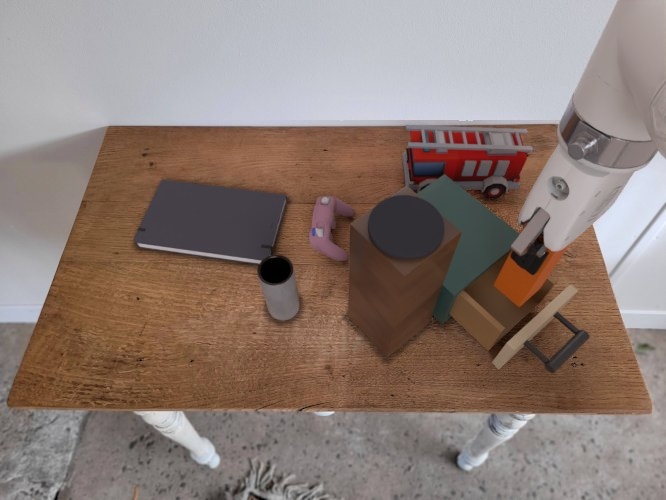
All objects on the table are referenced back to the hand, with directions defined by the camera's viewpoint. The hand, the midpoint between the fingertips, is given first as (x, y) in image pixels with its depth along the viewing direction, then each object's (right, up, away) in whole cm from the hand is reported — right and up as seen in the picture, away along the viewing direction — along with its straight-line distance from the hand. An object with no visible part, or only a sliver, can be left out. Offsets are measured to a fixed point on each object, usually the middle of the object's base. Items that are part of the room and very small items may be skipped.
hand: (537, 252), depth 53 cm
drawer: (+1, -9, +13) cm, 16 cm away
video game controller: (-23, +2, +22) cm, 32 cm away
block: (0, -4, +6) cm, 8 cm away
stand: (-15, -9, +14) cm, 22 cm away
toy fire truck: (-2, +12, +28) cm, 31 cm away
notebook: (-41, +4, +24) cm, 48 cm away
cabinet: (-7, -2, +19) cm, 20 cm away
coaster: (-15, +3, -4) cm, 16 cm away
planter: (-29, -8, +16) cm, 34 cm away
